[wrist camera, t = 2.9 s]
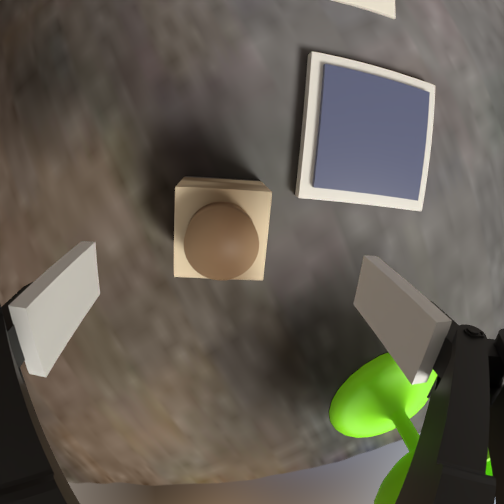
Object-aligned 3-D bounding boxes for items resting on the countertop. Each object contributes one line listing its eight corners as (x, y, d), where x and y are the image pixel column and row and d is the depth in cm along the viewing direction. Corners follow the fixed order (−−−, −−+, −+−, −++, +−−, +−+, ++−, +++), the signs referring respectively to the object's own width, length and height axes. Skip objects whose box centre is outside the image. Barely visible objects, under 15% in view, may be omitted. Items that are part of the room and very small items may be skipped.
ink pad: (294, 195, 26) (299, 198, 25) (307, 54, 22) (313, 49, 21) (414, 208, 28) (424, 212, 26) (427, 86, 24) (438, 85, 22)
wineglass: (419, 322, 33) (514, 429, 16) (447, 386, 38) (510, 470, 21) (305, 402, 35) (349, 535, 18) (358, 448, 40) (398, 543, 23)
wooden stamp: (182, 247, 27) (170, 289, 19) (184, 175, 25) (170, 192, 17) (253, 250, 28) (267, 293, 20) (259, 180, 26) (277, 197, 18)
